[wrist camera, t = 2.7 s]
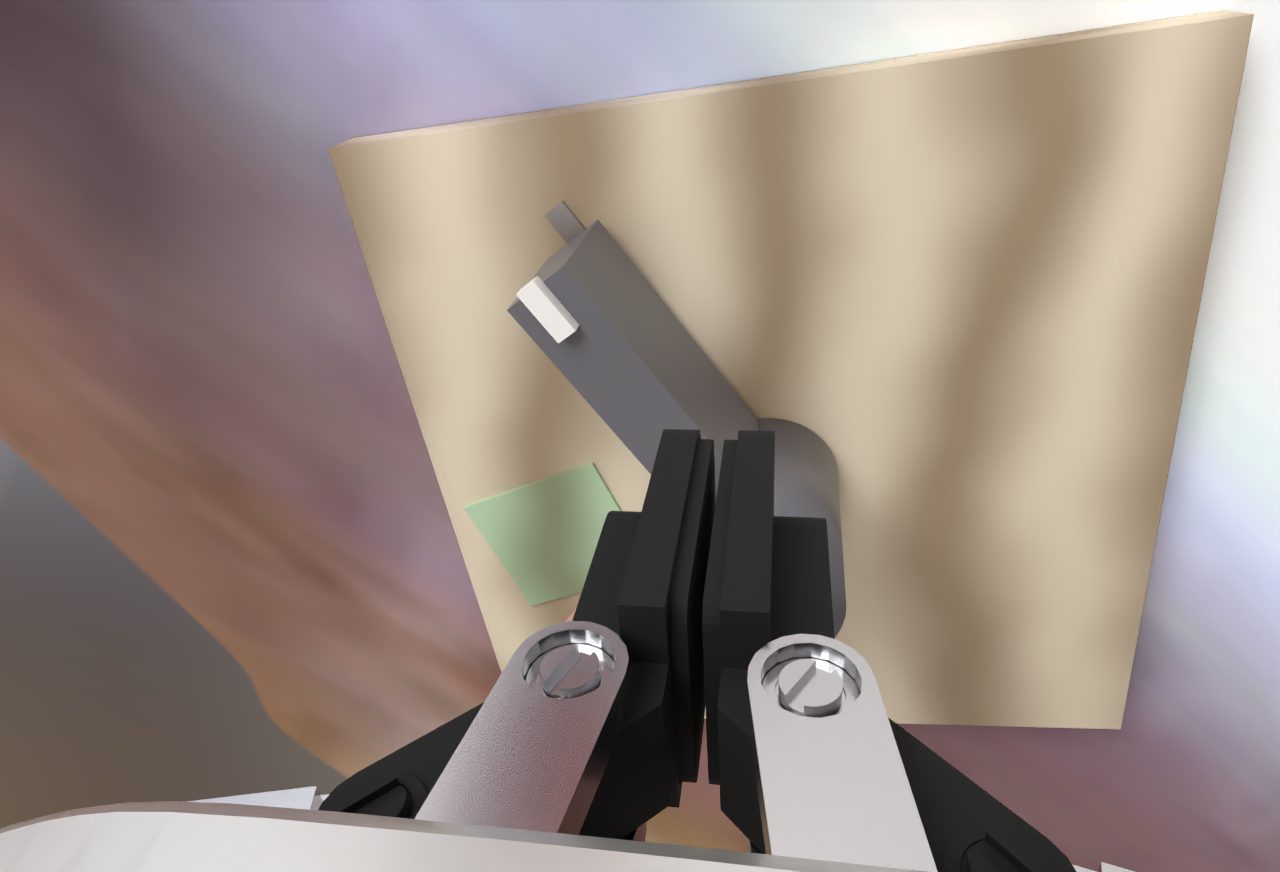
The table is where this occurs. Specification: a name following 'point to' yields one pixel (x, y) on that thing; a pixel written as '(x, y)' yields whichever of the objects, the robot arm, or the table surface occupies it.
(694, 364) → the faucet
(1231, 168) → the table surface
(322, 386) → the table surface
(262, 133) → the table surface
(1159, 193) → the board
